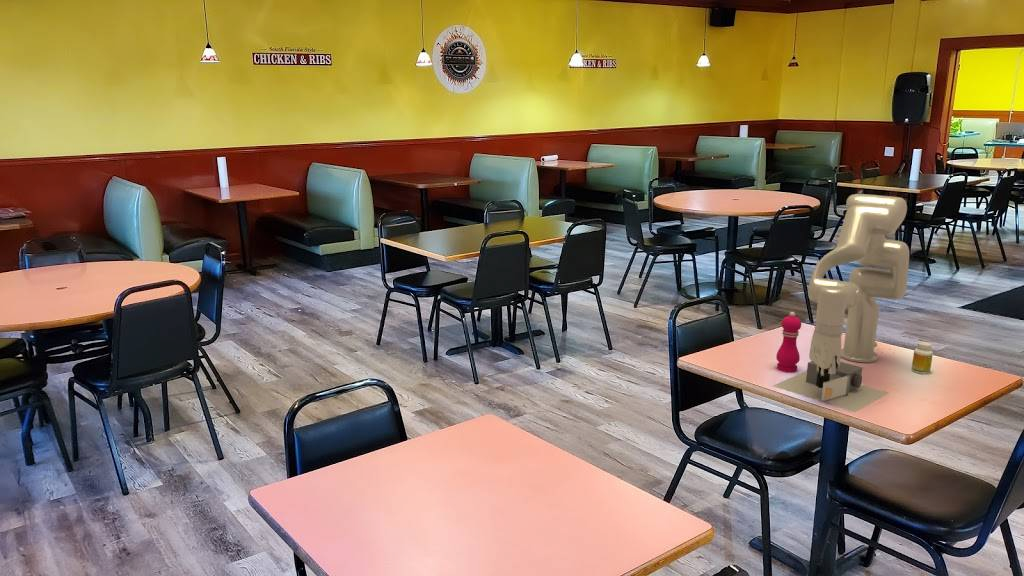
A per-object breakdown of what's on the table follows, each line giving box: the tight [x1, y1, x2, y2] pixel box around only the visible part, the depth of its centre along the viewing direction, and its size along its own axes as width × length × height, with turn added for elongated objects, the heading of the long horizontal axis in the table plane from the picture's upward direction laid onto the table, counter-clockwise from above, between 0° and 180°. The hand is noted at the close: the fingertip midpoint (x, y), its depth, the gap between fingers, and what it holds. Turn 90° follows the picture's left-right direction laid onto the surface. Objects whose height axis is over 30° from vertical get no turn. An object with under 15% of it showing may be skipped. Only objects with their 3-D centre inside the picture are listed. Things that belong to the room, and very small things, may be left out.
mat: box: [772, 370, 889, 413], centre depth 234 cm, size 22×26×1 cm
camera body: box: [806, 360, 863, 393], centre depth 236 cm, size 9×14×7 cm, turn 41°
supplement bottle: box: [911, 341, 934, 375], centre depth 249 cm, size 5×5×10 cm
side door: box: [821, 375, 850, 401], centre depth 225 cm, size 2×11×6 cm, turn 120°
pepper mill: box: [775, 311, 802, 373], centre depth 248 cm, size 7×7×20 cm
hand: (822, 386), depth 226 cm, fingers closed
